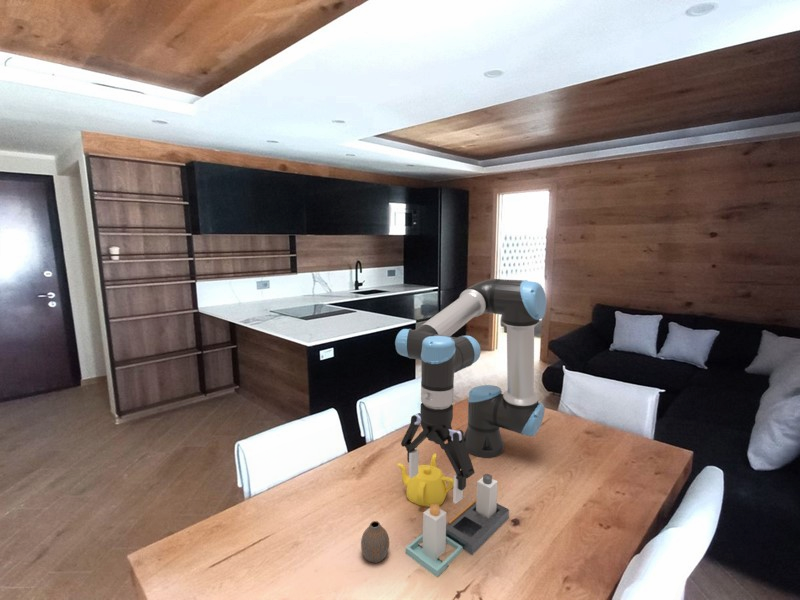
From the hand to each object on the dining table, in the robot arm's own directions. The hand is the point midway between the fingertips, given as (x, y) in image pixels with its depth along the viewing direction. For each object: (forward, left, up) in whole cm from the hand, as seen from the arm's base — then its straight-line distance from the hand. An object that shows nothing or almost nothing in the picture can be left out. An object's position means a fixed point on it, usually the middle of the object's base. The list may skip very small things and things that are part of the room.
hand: (434, 487), depth 94 cm
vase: (-10, -10, -19) cm, 23 cm away
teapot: (-16, +16, -19) cm, 29 cm away
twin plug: (+3, +19, -17) cm, 26 cm away
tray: (0, 0, -18) cm, 18 cm away
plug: (0, 0, -18) cm, 18 cm away
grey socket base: (+3, +15, -18) cm, 24 cm away
